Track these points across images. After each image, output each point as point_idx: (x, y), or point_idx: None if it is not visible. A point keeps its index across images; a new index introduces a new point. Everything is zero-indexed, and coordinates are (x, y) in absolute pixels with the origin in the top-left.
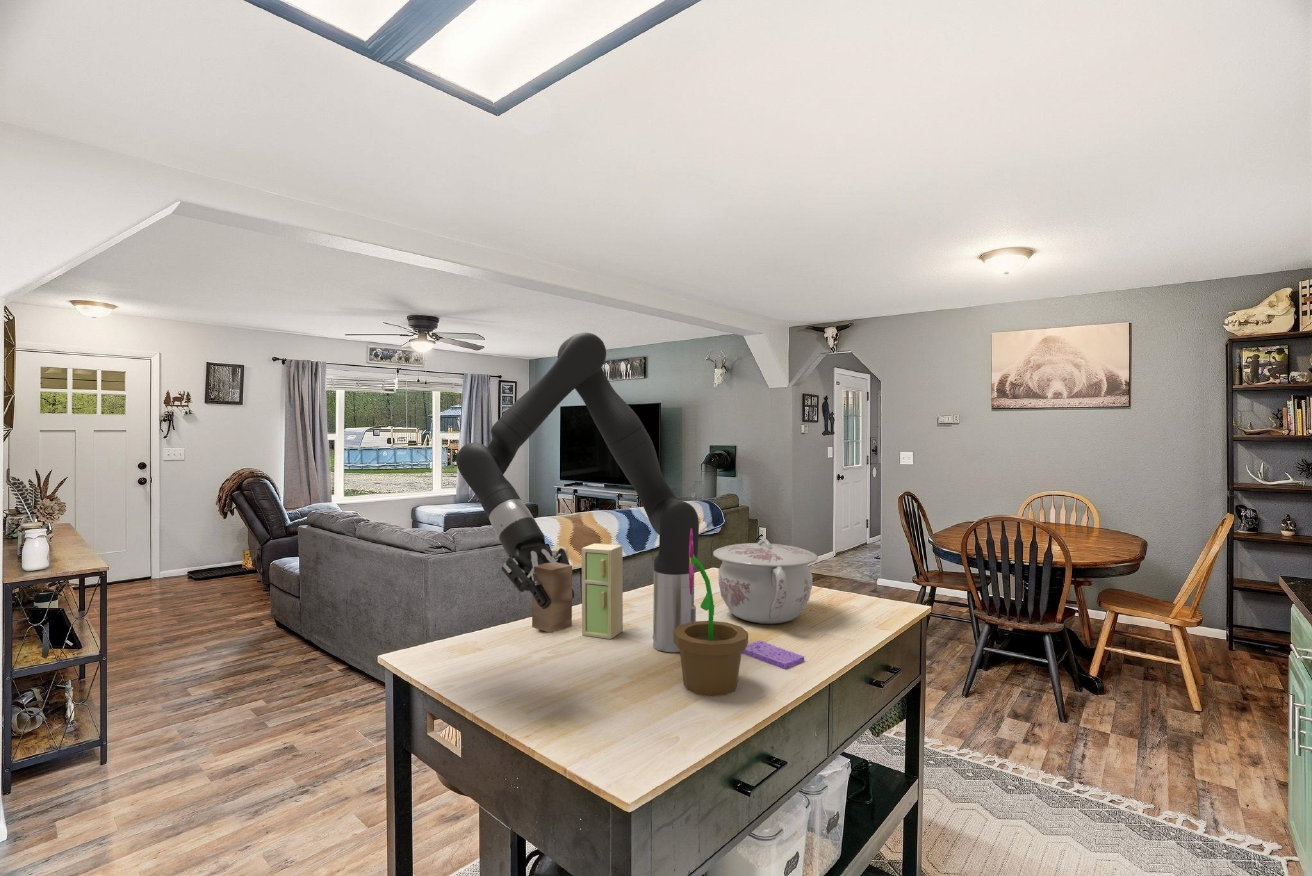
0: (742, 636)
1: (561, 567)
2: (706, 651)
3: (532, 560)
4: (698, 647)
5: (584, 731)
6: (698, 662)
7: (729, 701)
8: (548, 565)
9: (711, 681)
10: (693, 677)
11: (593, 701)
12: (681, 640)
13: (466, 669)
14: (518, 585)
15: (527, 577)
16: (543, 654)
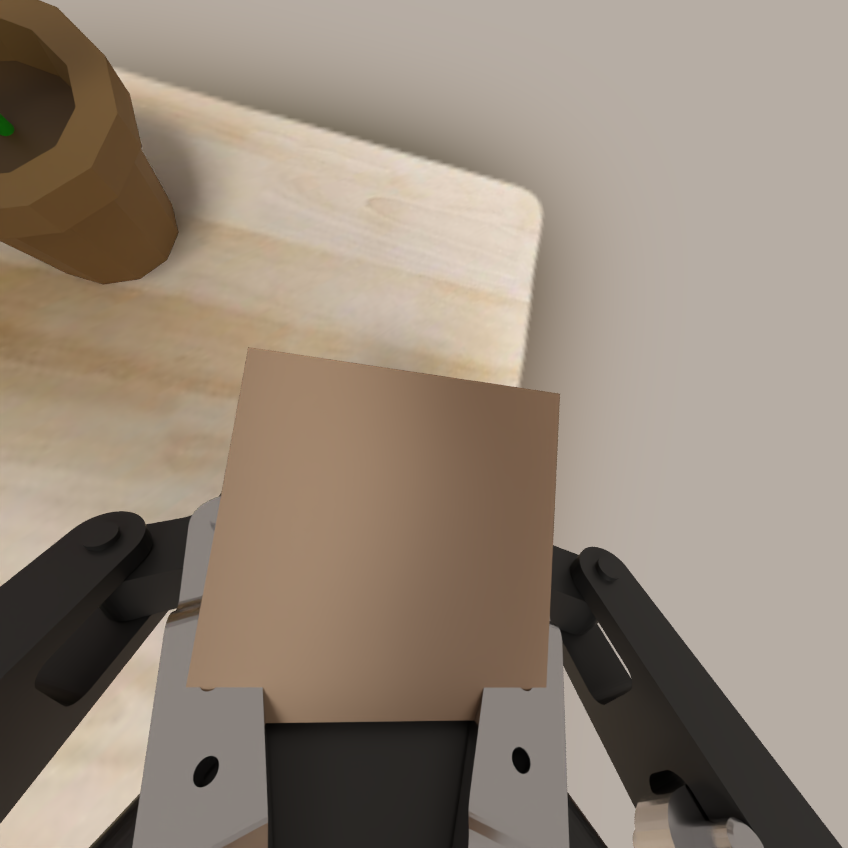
0: None
1: (404, 387)
2: (126, 99)
3: (548, 820)
4: (123, 112)
5: (438, 343)
6: (139, 165)
7: (178, 166)
8: (411, 586)
9: (155, 176)
10: (157, 216)
11: None
12: (102, 162)
13: None
14: (596, 634)
15: (604, 601)
16: (140, 716)
